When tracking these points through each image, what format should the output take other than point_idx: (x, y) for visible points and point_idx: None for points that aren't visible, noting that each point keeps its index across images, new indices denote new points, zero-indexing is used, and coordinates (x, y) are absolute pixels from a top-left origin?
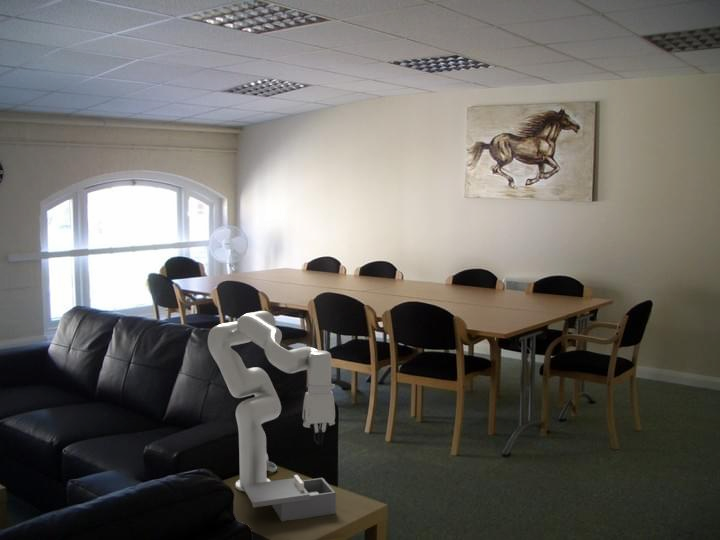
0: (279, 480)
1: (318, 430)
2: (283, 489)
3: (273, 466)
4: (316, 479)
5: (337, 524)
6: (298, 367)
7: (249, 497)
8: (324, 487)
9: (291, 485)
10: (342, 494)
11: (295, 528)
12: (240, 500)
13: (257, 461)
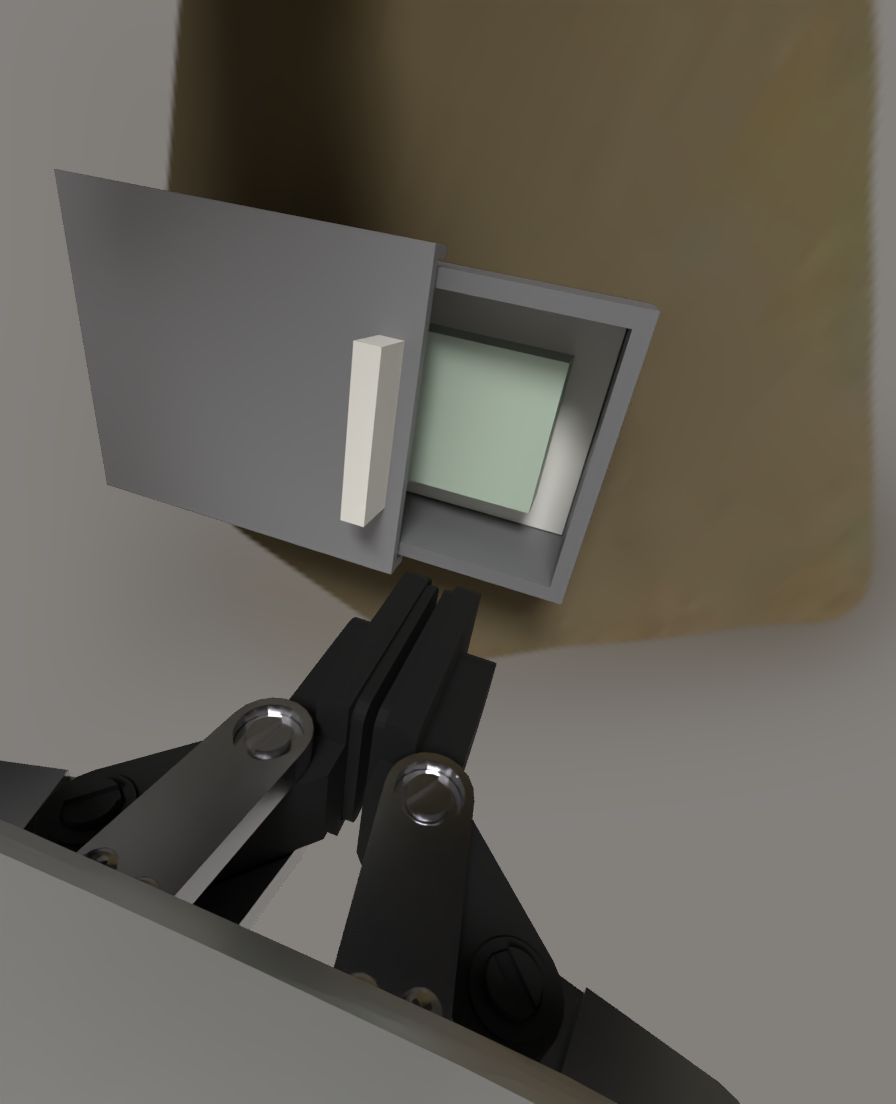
0: (298, 226)
1: (297, 862)
2: (281, 415)
3: None
4: (591, 319)
5: (511, 635)
6: None
7: (96, 404)
8: (604, 413)
9: (345, 381)
10: (811, 327)
11: (345, 560)
12: (177, 38)
13: None
